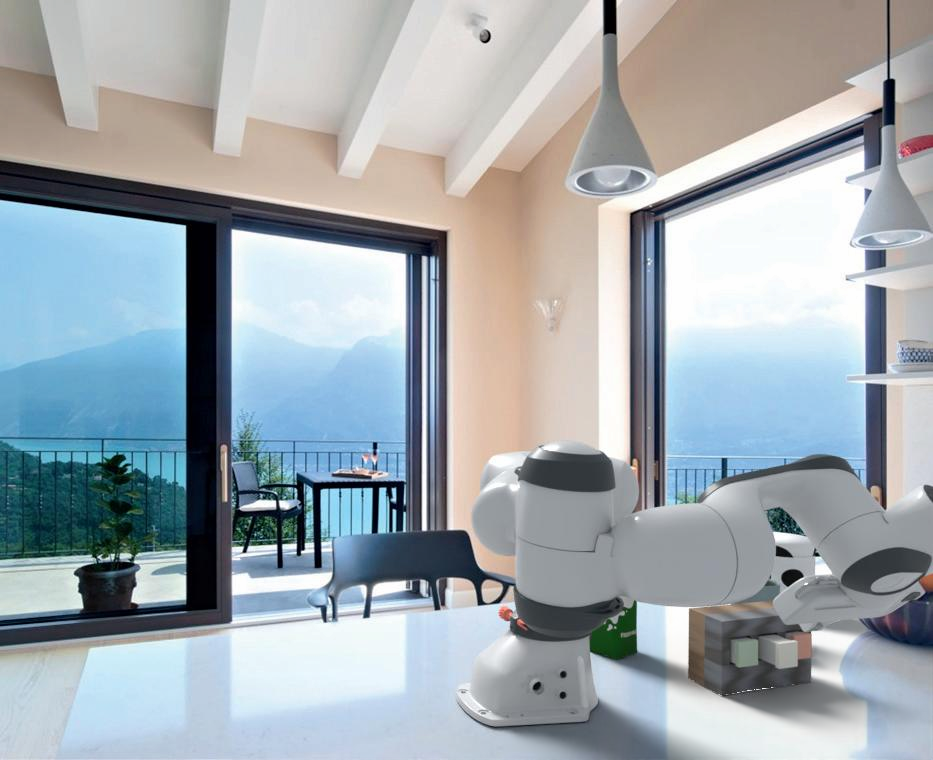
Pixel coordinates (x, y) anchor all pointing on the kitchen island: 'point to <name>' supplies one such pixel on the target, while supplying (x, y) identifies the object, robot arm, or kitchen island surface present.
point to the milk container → (792, 559)
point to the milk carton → (617, 633)
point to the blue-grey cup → (764, 593)
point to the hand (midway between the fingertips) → (808, 627)
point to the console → (713, 648)
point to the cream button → (778, 651)
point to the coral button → (801, 642)
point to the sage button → (743, 651)
